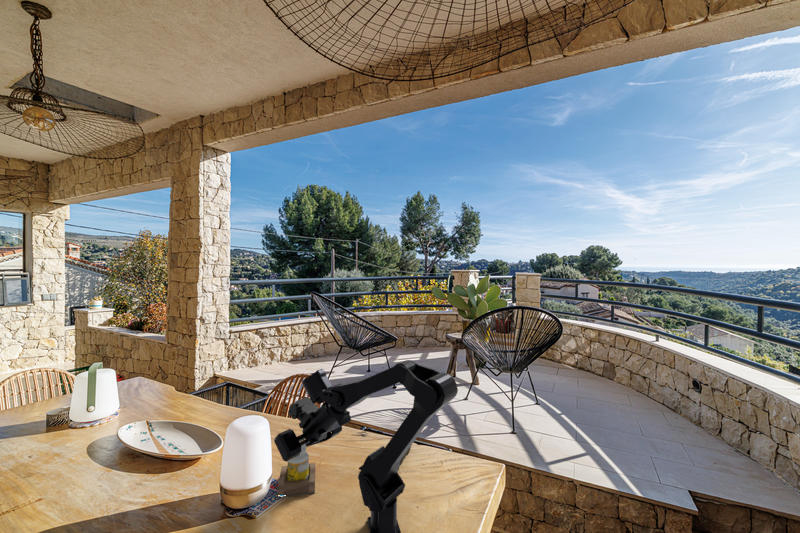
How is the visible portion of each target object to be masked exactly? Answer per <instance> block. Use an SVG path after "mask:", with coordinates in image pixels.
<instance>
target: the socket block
mask: <svg viewBox="0 0 800 533" xmlns="http://www.w3.org/2000/svg"><path fill="white" fill-rule="evenodd" d="M279 473H280V474H279V478H278V483H277V496H278V495H286V496H287V497H289V498H290V497H296V496H297V497H298V496H305V495H313V494H315V493H316V462H314V463H313V462H312V463H309V479H304V480H295V481H287V474H288V465H282V466H281V469H280V472H279ZM277 496H276V497H277ZM287 497H286V498H287Z"/></svg>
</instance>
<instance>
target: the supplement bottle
mask: <svg viewBox="0 0 800 533" xmlns="http://www.w3.org/2000/svg"><path fill="white" fill-rule="evenodd" d="M309 460H310V457H309V453H308V452H307V447H306V445H303V446H301V453H300V455H298V456H296V457H294V458H292V459H290V460H288V461H287V466H288V474H287V481H295V480H304V479H309V464H310V461H309Z"/></svg>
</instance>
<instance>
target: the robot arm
mask: <svg viewBox="0 0 800 533" xmlns="http://www.w3.org/2000/svg"><path fill="white" fill-rule="evenodd" d="M396 384H401V385H402V386H403V388H405V389H406V391H407V392H408V393H409V394H410V395H411V396H413V397H414V398H413V405H412V408H411V409H410V411H409V413H408V414H407V415H406V417H405V418H404V419H403V421H402V422H401V424H400V426H399V427H398V428H397V430H396V432H394V434H393V436H392V437H391V438H390V440H389V441H388V443H387V444H386V445H382V446H380V447H379V448H377V449H376V450H374V451H373V452H372V453H370V454H368V455H367V456H366V458H365V459H364V462H363V464H362V465H361V466H359V467H358V470H359V473H358V474H357V479H358V483H359V485H358V486H359V489H360V492H361V497H362V498H361V499H362V502H363V505H364V506H365V507H367V508H368V509H369V510H368V511H369V512H370V516H368V517H367V519H366V520H367V527H368V531H369V533H402V531H401V528H400V525H399V522H398V516H397V513H398V512H397V511H398V509H397V508H398V497H399V496H400V495H401V494H403V493H404V491H405V488H406V484H405V482H404V481H403V479H402V477H401V476H400V474H399V473H398V471H399V470H400V466H401V464H400V460H401V459H402V457H403V456H404V454H405V453H406V452H407V450H408V449H409V448H410V446H411V447H412V445H413V444H414V442H416V439H417V438H418V437H419V435H420V434H421V433H422V431H423V430H424V429H425V427H426V426H427V425H428V423H429V422H430V421H431V419H432V418H433V417H434V416H435V415H436V414H437V413H438V412H439V411H441V410H443V408H445V407H446V406H447V405H448V404H449V403H450V402H451V401H452V400H453V399H455V398H456V397H457V395H458V391H459V389H458V384H457V382H456V380H455V379H454V377H453V376H452V375H451V374H449V373H446V372H440V371H438V370H437V369H434V368H430V367H428V366H424V365H421V364H419V363H416V362H415V361H413V360H410V359H409V360H408V359H407V360H404V361H400V362H397V363H396V364H395V365H393V366H391V367H388V368H387V369H385V370H382V371H380V372H378V373H376V374H374V375H371V376H369V377H367V378H363V379H362V378H359V379H356V380H351V381H347V382H344V383H339V384H335V385H333V384H332V383H331V381H330V379H329V377H328V376H327V373H326V372H325V370H324V368H321V369H317V370H316V371H315V372H314V373H312V374H310V375H309V376H307V377H306V378H303V380H302V382H301V385H302V387H303V388H304V391H305V392H306V394H307V395H308V397H303V398H300V399H298V400H295V401H294V402H293V403H292V404H291V405H290V406H289V407H288V412H287V413H288V416H289V417H291V418H292V419H293V420H296V419H297V420H299V421H300V422H299V423H298V426H299V429H302V431H301V432H302V433H301V434H299V435H298V436H297V435H296V432H295V431H294V429H292V428H287V430H284V431H282V432H280V433H277V435H276V436H274V439H273V442H274V444H275V447H277V450H278V452H279V454H280V456H281V458H282V460H283V461H284V462H287V463H288V460H290V459H292V458H294V457H296V456H298V455H300V453H301V446H303V445H306V448H307V447H310V446H314V445H317V444H320V443H323V442H326V441H328V440H330V439H331V438H334V437H336V436H337V435H339V434H340V433H341V432H342V431H343V426H344V425H346V424H348V423H350V422H351V421H352V417H351V414H350V413H351V412H350V411H348V409H350V408H352V407H355V406H357V405H359V404H360V403H362V402H364V401H365V400H366V399H368V398H369V396H370V395H371V396H372V394H374V393H377V392H380V391H382V390H385V389H387V388H389V387H391V386H394V385H396ZM316 403H317V404H316ZM318 405H321V406H320V407H318ZM410 449H411V448H410ZM399 465H400V466H399Z"/></svg>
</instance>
